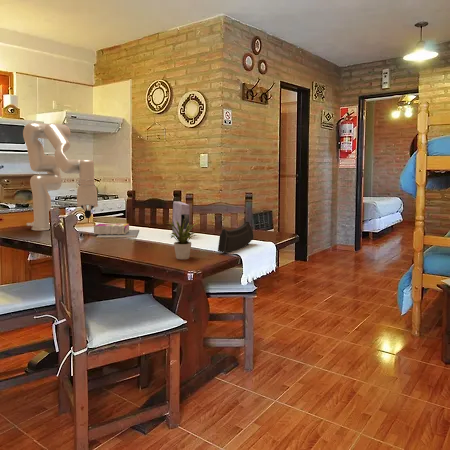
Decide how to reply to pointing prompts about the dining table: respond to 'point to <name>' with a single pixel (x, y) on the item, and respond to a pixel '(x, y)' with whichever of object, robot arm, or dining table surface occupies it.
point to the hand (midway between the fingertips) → (87, 217)
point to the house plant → (182, 241)
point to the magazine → (235, 238)
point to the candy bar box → (111, 229)
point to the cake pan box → (180, 215)
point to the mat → (129, 235)
